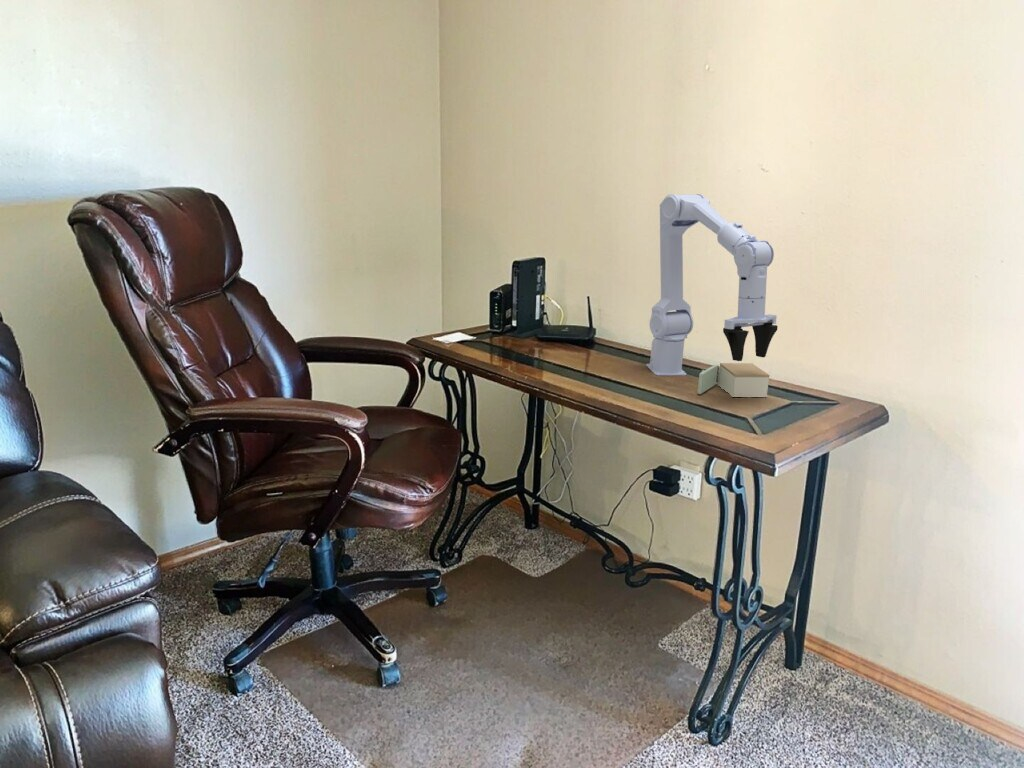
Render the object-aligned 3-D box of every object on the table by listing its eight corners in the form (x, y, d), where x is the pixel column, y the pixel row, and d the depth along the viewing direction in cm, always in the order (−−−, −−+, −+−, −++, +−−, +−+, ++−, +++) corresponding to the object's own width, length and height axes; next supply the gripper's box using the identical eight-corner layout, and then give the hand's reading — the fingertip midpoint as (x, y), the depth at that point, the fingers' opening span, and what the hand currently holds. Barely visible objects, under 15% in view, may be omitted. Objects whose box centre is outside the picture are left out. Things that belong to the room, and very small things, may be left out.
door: (713, 382, 191) (715, 363, 189) (717, 383, 190) (719, 364, 189) (696, 393, 182) (699, 373, 181) (701, 394, 181) (703, 374, 180)
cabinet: (717, 385, 190) (720, 363, 189) (749, 385, 191) (752, 363, 190) (733, 398, 181) (735, 375, 179) (766, 398, 182) (769, 375, 180)
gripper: (743, 301, 165) (740, 364, 168) (788, 296, 173) (785, 357, 176) (718, 298, 171) (715, 360, 174) (763, 294, 179) (760, 353, 181)
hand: (749, 358), depth 175 cm, fingers open, 7 cm apart
